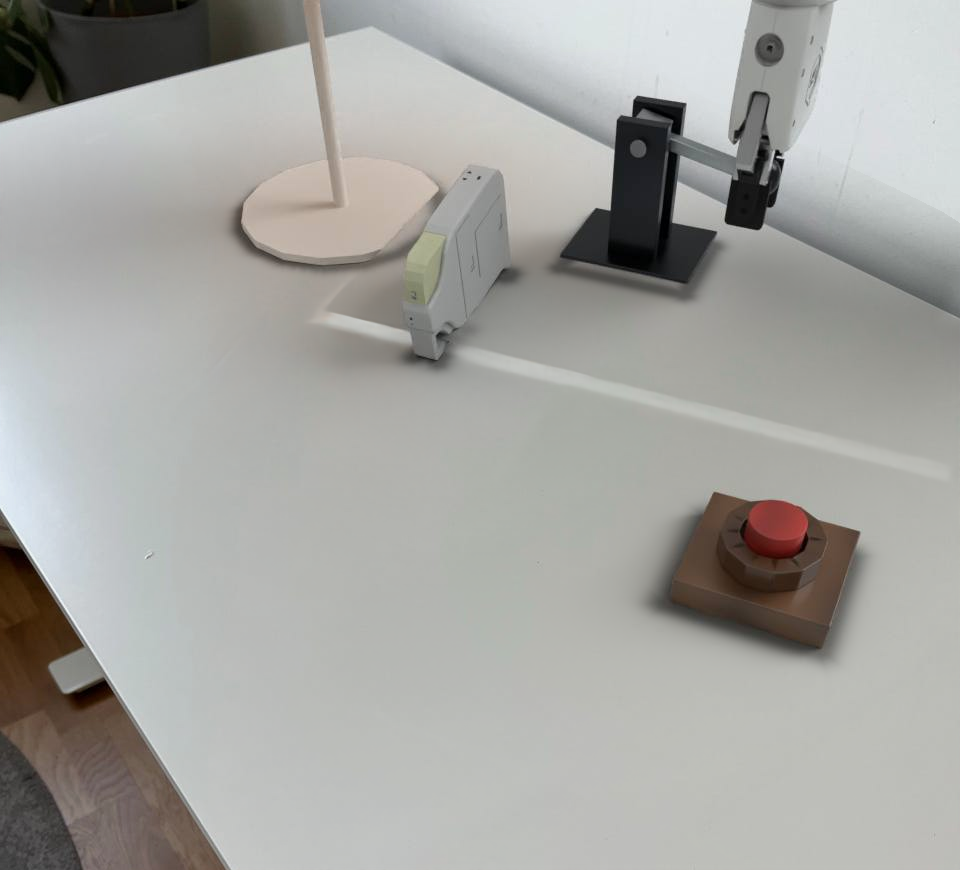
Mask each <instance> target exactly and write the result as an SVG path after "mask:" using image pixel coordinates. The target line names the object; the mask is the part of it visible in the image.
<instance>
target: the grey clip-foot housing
mask: <svg viewBox="0 0 960 870" xmlns="http://www.w3.org/2000/svg"><path fill="white" fill-rule="evenodd" d="M504 180H505V179H504V175H503V173H502V172H501V170H500V169H499V168H495V167H489V166H484V165H478V164H472V163H471V164H469V165H468V166H467V167H465V168H464V169H463V171H462V172H461V174H460V175H459V176H458V178H457V179H456V181H455V182H454V183H453V185H452V186H451V188H450V189H449V191H448V192H447V193H446V195H445V196H444V198H443V199H442V200H441V202H440V203H439V205H438V206H437V207H436V208H435V210H434V211H433V212H432V214H431V215H430V217H429V218H428V220H427V221H426V223H425V226H424V228H423V231H422V233H421V235H420V236H419V238H418V239H417V240H416V242H415V244H414V245H413V246H412V247H411V249H410V250H409V251H408V253H407V257H406V261H405V268H404V277H403V278H404V279H403V292H404V293H403V300H402V313H403V318H404V323H405V326H406V327H407V328H408V329H409V333H410V337H411V343H412V347H413V352H414V354H415V356H418V357H423V358H426V359H431V360H433V361H438V360H439V359H440V357H441V356H442V354H443V353H444V351H445V350H446V349H447V347H448V345H449V344H450V342H451V340H448V339H444V338H440V337H437V335H438V334H439V333H441V334H445V335H451V333H452V332H453V331H454V329H459V328H461V327H462V326H463V325H464V324H465V322H466V321H468V319H470V317H471V315H472V314H473V312H475V310H476V309H477V308H478V307H479V305H480V304H481V302H482V301H483V299H484V298H485V297H486V295H487V294H488V292H489V290H490V289H491V288H492V286H493V284H494V283H495V281H496V280H497V278H498V276H500V274H501V272H502V271H503V270H507V269H509V268H510V267H511V265H512V263H511V252H510V250H511V249H510V241H509V226H508V215H507V214H508V213H507V201H506V189H505V181H504Z"/></svg>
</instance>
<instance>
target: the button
mask: <svg viewBox="0 0 960 870" xmlns="http://www.w3.org/2000/svg"><path fill="white" fill-rule="evenodd" d="M767 500H768V501H763V502H761V503H759V504H757V505H755V506H754V507H753V508H752V509H751V511H750V513H749V517H748V521H747V525H746V529H745V534H744V539H745V542H746V544H747V546H748V547H749V548H750V549H751V550H752V551H753V552H754V553H756V554H758V555H760V556H764V557H767V558H771V559H786V558H789V557H791V556H793V555H795V554H796V553H797V552H798V551H799V550H800V548H801V546H802V543H803V540H804V536H805V533H806V530H807V526H808V520H807V517H806V515H805V514H804V512H803V511H802V510H801V509H800V508H798V507H797V506H798V505H796V504H793V503H791V502H789V501H785V500H780V499H767ZM795 505H796V506H795Z"/></svg>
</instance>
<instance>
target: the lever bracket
mask: <svg viewBox="0 0 960 870" xmlns="http://www.w3.org/2000/svg"><path fill="white" fill-rule="evenodd" d="M687 105H688V103H687V102H682V101H676V100H669V99H663V98H657V97H650V96H643V95H636V96H634V98H633V100H632V111H631V116H628V115H624V114H620V115H619V116H618V118H617V119H616V124H615V125H616V126H615V139H614V154H613V169H612V181H611V195H610V209H604V208H599V207H595V208H594V209H593V210H592V212H591V213H590V215H589V216H588V217H587V218H586V219H585V222H584V223H583V224H582V225H581V227H580V228H579V229H578V231H577V232H576V233H575V234H574V236H572V238H571V240H570V241H569V242H568V243H567V245H566V246H565V248H564V249H563V250H562V251H561V252H560V254H559V255H560V256H559V257H560V258H563V259H568V260H572V261H577V262H581V263H586V264H589V265H590V264H591V265H595V266H600V267H604V268H608V269H609V268H611V269H614V270H618V271H623V272H629V273H633V274H637V275H638V274H639V275H643V276H648V277H652V278H658V279H661V280H668V281H670V282H675V283H680V284H685V285H688V284H689V283H690V280H691V279H692V277H693V275H694V274H695V272H696V270H697V268H698V267H699V265H700V263H701V262H702V260H703V259H704V257H705V255H706V254H707V252H708V250H709V249H710V247H711V245H712V243H713V242H714V240H715V238H716V237H717V235H718V231H717V230H713V229H707V228H702V227H698V226H697V227H696V226H692V225H688V224H687V225H686V224H681V223H676V222H673V221H674V220H673V219H674V212H675V203H676V195H677V188H678V187H677V186H678V179H679V172H680V163H681V155H679V154H676V153H674V152H671V151H669V143H670V134H671V132H672V133H675V134H677V135H680V136H682V137H684V131H685V122H686V121H685V120H686V112H687ZM642 109H646V110H648V111H651V112H654V113H656V114H659V115H661V116H664V117H667V118H669V119H672V120H673V124H671V123H666V122H660V121H654V120H648V119H642V118H636V117H637V115H638V114H639V113H640V112H641V110H642ZM671 125H672V127H671Z"/></svg>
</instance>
